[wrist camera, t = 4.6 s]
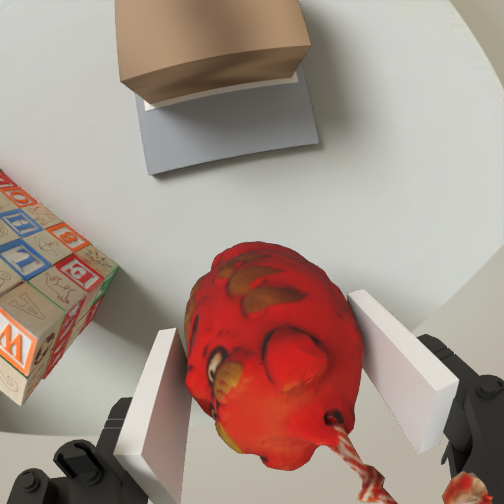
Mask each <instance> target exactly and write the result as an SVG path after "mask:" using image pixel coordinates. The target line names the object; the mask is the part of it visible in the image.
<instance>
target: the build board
mask: <svg viewBox="0 0 504 504" xmlns="http://www.w3.org/2000/svg"><path fill="white" fill-rule="evenodd" d="M135 97H136V104H137V111H138V118H139V124H140V131H141V137H142V143H143V148H144V154H145V160H146V165H147V170H148V175H154V174H158V173H162V172H167V171H171V170H175V169H179V168H183V167H188V166H192V165H197V164H201V163H206V162H211V161H216V160H221V159H226V158H231V157H236V156H241V155H247V154H253V153H258V152H264V151H270V150H277V149H283V148H290V147H297V146H304V145H312V144H317V143H319V140H318V134H317V129H316V124H315V119H314V114H313V109H312V105H311V100H310V95H309V91H308V86H307V82H306V78H305V73H304V69H303V65H302V61H301V63H300V65H299V66H298V68H297V70H296V71H295V73H294V75H293V76H292V78H283V79H274V80H266V81H259V82H252V83H245V84H239V85H233V86H227V87H222V88H217V89H212V90H207V91H202V92H197V93H193V94H189V95H184V96H180V97H176V98H172V99H168V100H164V101H161V102H157V103H153V104H149V103H148V102H146V101H145V100H144V99H142V98H141V97H140V96H139V95H137V94H136V93H135Z"/></svg>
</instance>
